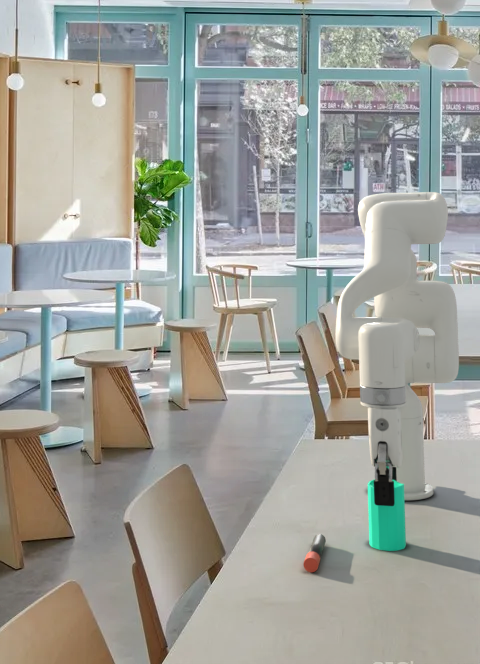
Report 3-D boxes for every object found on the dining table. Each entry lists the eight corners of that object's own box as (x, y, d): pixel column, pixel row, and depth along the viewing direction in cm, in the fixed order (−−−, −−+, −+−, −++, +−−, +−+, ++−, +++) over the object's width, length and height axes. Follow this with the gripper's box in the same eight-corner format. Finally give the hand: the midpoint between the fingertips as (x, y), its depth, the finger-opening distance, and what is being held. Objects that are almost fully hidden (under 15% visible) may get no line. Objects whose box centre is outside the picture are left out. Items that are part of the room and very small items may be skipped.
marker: (313, 543, 175) (313, 530, 175) (327, 544, 175) (327, 531, 175) (303, 571, 162) (303, 557, 162) (318, 573, 161) (317, 558, 161)
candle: (407, 551, 170) (405, 479, 170) (370, 550, 171) (368, 478, 171) (404, 540, 176) (402, 470, 176) (368, 538, 177) (366, 469, 177)
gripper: (404, 406, 164) (407, 513, 164) (407, 388, 181) (410, 485, 181) (356, 404, 167) (359, 510, 166) (363, 387, 183) (366, 483, 183)
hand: (385, 497), depth 173 cm, fingers open, 9 cm apart
